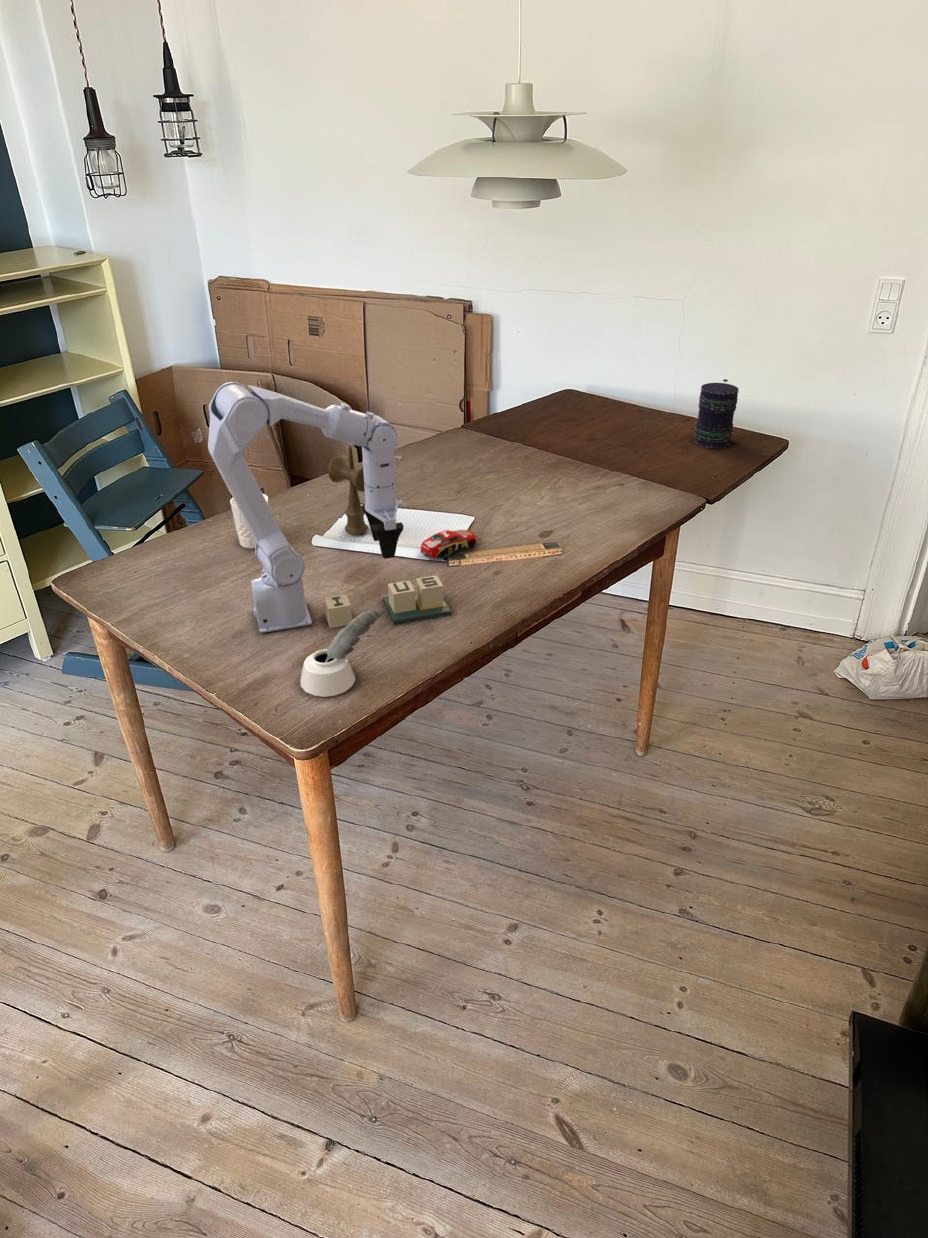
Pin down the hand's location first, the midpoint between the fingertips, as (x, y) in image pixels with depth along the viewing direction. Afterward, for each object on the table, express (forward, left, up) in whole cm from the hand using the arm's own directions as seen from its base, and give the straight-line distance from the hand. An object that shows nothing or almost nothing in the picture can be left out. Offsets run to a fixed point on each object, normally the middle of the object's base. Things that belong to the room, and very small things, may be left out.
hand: (383, 548), depth 169 cm
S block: (+7, -8, -8) cm, 13 cm away
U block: (+1, -8, -9) cm, 12 cm away
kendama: (0, +28, -10) cm, 30 cm away
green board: (+4, -8, -9) cm, 13 cm away
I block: (-11, -8, -9) cm, 17 cm away
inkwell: (-13, -24, -10) cm, 29 cm away
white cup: (-22, +30, -10) cm, 38 cm away
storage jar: (+104, +51, -10) cm, 116 cm away
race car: (+17, +13, -10) cm, 23 cm away
